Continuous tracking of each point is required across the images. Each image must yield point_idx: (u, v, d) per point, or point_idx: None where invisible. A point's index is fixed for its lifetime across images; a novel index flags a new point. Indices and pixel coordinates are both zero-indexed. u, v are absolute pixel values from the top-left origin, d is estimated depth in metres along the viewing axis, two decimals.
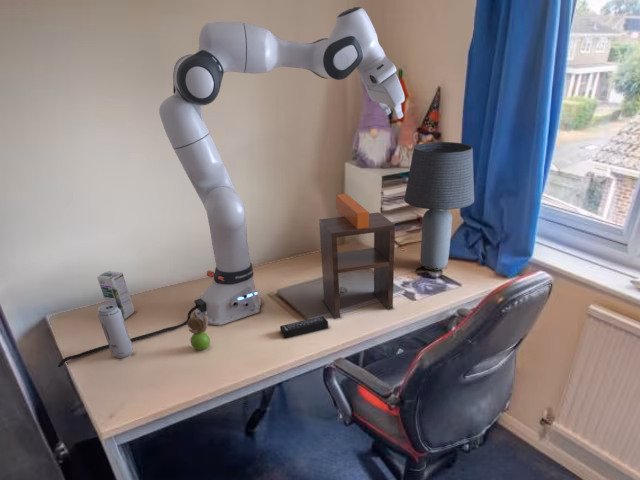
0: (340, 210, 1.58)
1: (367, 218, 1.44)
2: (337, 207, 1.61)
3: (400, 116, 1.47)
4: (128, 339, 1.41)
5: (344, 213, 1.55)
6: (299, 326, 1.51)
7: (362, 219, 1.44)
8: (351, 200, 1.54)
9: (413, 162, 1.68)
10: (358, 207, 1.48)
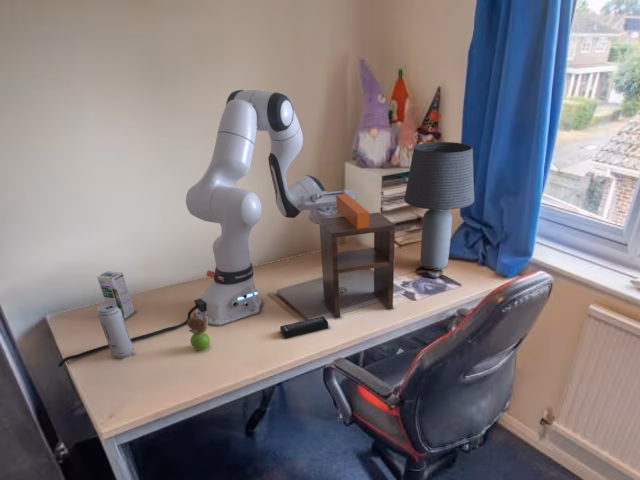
0: (340, 210, 1.58)
1: (367, 218, 1.44)
2: (337, 207, 1.61)
3: None
4: (128, 339, 1.41)
5: (344, 213, 1.55)
6: (299, 326, 1.50)
7: (362, 219, 1.44)
8: (351, 200, 1.54)
9: (413, 162, 1.68)
10: (358, 207, 1.48)
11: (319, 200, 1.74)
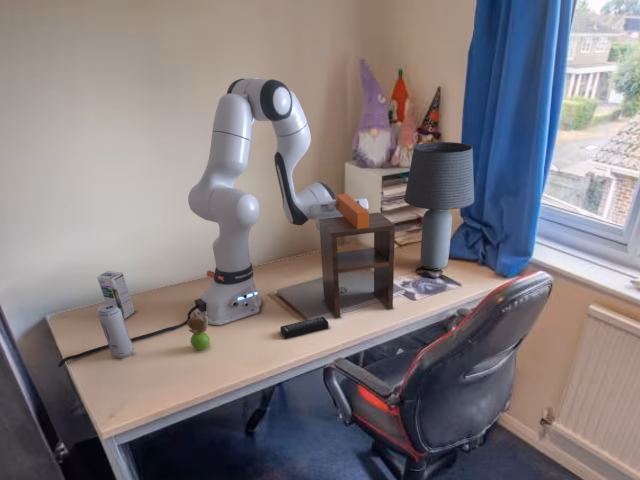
0: (340, 210, 1.58)
1: (367, 218, 1.44)
2: (337, 207, 1.61)
3: None
4: (128, 339, 1.41)
5: (344, 213, 1.55)
6: (299, 326, 1.50)
7: (362, 219, 1.44)
8: (351, 200, 1.54)
9: (413, 162, 1.68)
10: (358, 207, 1.48)
11: None
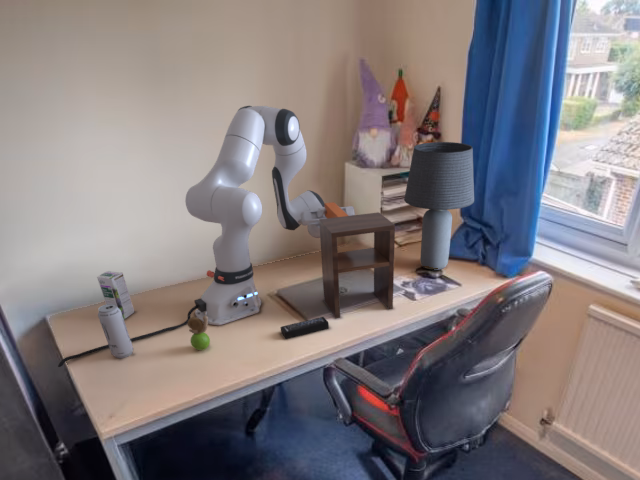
0: (328, 217, 1.74)
1: None
2: None
3: None
4: (128, 339, 1.41)
5: None
6: (300, 327, 1.50)
7: None
8: (338, 208, 1.70)
9: (413, 162, 1.68)
10: (344, 215, 1.64)
11: None
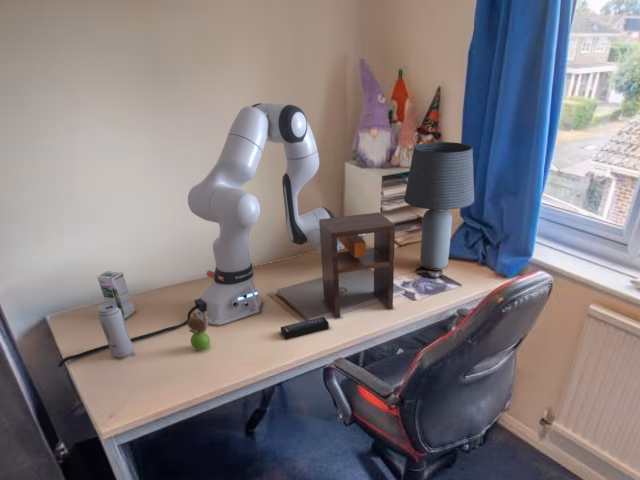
0: (338, 237, 1.66)
1: (364, 248, 1.52)
2: None
3: None
4: (128, 339, 1.41)
5: (342, 241, 1.63)
6: (300, 327, 1.50)
7: (359, 248, 1.52)
8: None
9: (413, 162, 1.68)
10: (356, 236, 1.56)
11: None
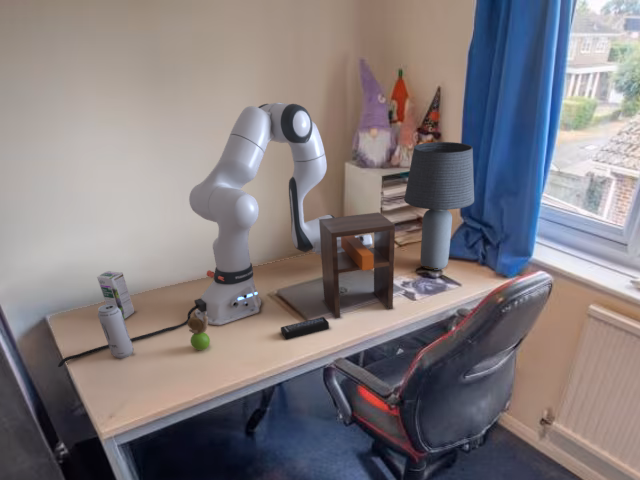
0: (345, 249, 1.62)
1: (372, 260, 1.48)
2: (342, 245, 1.65)
3: None
4: (128, 339, 1.41)
5: (349, 252, 1.58)
6: (300, 327, 1.50)
7: (367, 261, 1.48)
8: (356, 240, 1.57)
9: (413, 162, 1.68)
10: (363, 248, 1.51)
11: None
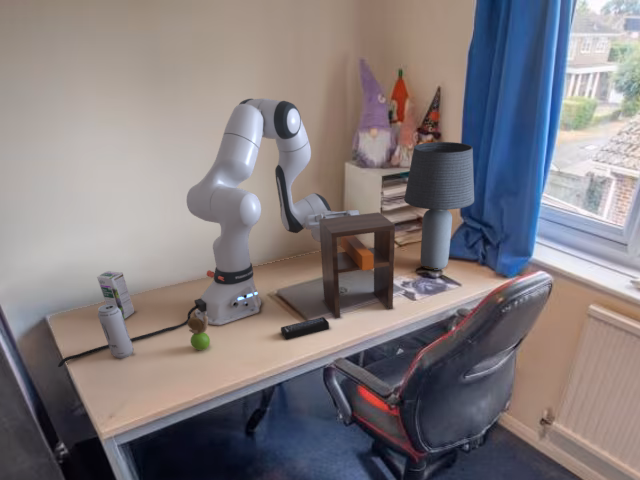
0: (345, 249, 1.62)
1: (372, 260, 1.48)
2: (342, 245, 1.65)
3: None
4: (128, 339, 1.41)
5: (349, 252, 1.58)
6: (300, 327, 1.50)
7: (367, 261, 1.48)
8: (356, 240, 1.57)
9: (413, 162, 1.68)
10: (363, 248, 1.51)
11: None
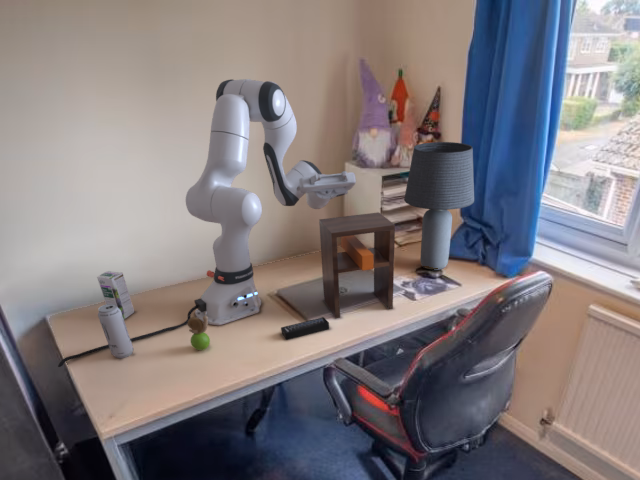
0: (345, 249, 1.62)
1: (372, 260, 1.48)
2: (342, 245, 1.65)
3: None
4: (128, 339, 1.41)
5: (349, 252, 1.58)
6: (300, 327, 1.50)
7: (367, 261, 1.48)
8: (356, 240, 1.57)
9: (413, 162, 1.68)
10: (363, 248, 1.51)
11: (318, 182, 1.71)
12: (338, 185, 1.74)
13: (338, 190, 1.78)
